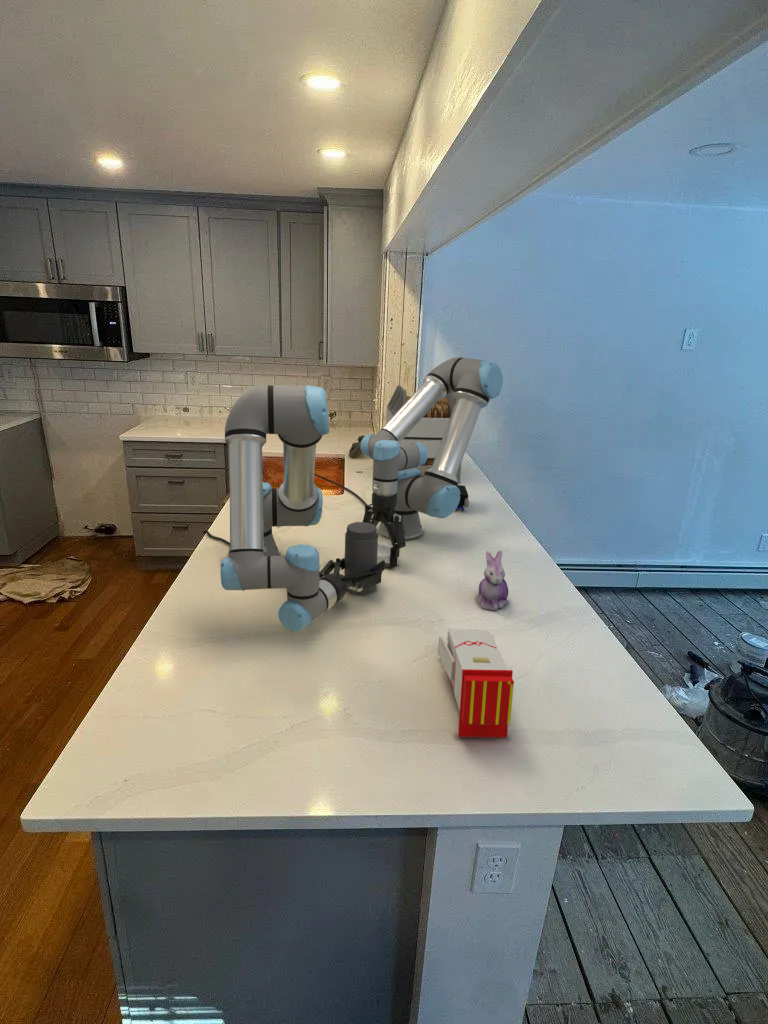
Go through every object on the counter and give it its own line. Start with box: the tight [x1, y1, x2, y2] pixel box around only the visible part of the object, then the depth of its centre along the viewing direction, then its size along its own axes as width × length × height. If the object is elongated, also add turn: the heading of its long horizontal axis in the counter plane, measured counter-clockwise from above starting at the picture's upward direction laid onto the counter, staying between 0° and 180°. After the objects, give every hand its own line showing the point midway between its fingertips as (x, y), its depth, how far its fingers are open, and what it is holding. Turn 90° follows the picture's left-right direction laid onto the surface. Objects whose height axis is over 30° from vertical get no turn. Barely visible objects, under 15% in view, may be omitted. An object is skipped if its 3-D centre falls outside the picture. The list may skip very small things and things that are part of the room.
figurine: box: [477, 549, 509, 611], centre depth 153 cm, size 9×10×15 cm
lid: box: [377, 543, 393, 564], centre depth 175 cm, size 10×10×2 cm
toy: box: [437, 628, 515, 738], centre depth 117 cm, size 12×13×30 cm
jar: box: [343, 521, 379, 596], centre depth 157 cm, size 9×9×18 cm
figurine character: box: [455, 484, 470, 512], centre depth 229 cm, size 7×8×15 cm
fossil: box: [348, 434, 366, 459], centre depth 303 cm, size 22×10×15 cm
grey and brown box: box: [385, 384, 462, 483], centre depth 268 cm, size 34×33×41 cm
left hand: (368, 561), depth 162 cm, fingers closed on jar, 9 cm apart
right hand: (381, 561), depth 176 cm, fingers closed on lid, 10 cm apart
